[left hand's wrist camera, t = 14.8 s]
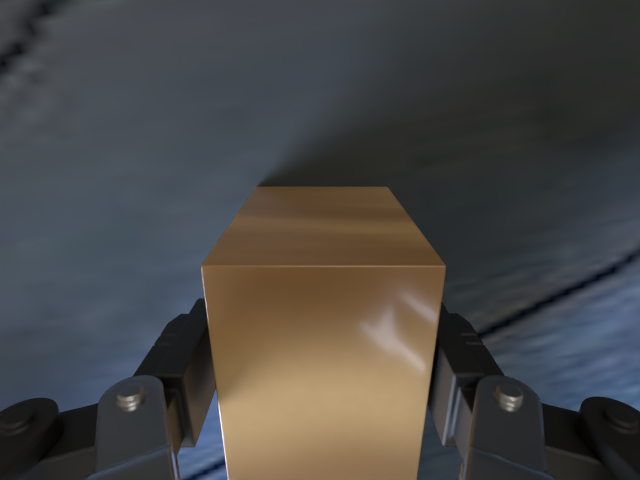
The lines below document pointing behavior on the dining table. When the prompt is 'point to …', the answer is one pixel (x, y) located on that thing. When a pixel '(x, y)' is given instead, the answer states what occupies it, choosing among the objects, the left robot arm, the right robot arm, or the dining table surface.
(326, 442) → the bar
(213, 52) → the dining table surface
